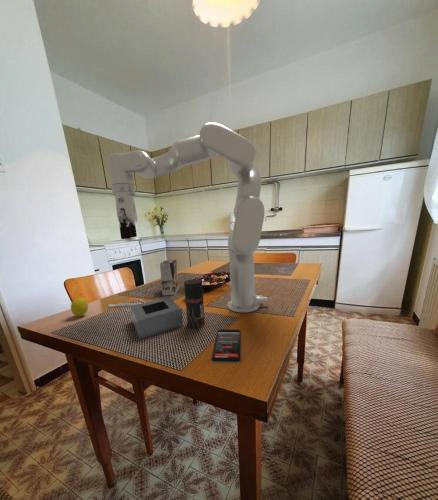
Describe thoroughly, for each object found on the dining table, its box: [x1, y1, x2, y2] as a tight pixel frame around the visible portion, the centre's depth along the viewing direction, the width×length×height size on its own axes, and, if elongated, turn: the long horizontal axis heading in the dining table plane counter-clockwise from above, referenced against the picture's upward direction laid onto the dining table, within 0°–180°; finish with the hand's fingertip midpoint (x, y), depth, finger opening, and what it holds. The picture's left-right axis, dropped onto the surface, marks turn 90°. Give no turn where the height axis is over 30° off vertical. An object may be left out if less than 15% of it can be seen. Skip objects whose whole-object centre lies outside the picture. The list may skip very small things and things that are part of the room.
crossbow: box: [107, 298, 146, 313], centre depth 89 cm, size 16×13×2 cm
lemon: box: [70, 296, 89, 318], centre depth 80 cm, size 6×6×8 cm
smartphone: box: [210, 328, 242, 364], centre depth 57 cm, size 7×1×15 cm
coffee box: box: [159, 259, 179, 296], centre depth 103 cm, size 9×6×16 cm
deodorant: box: [183, 278, 206, 329], centre depth 69 cm, size 6×6×15 cm
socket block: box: [130, 296, 184, 340], centre depth 71 cm, size 14×14×6 cm
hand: (129, 237), depth 76 cm, fingers open, 9 cm apart
